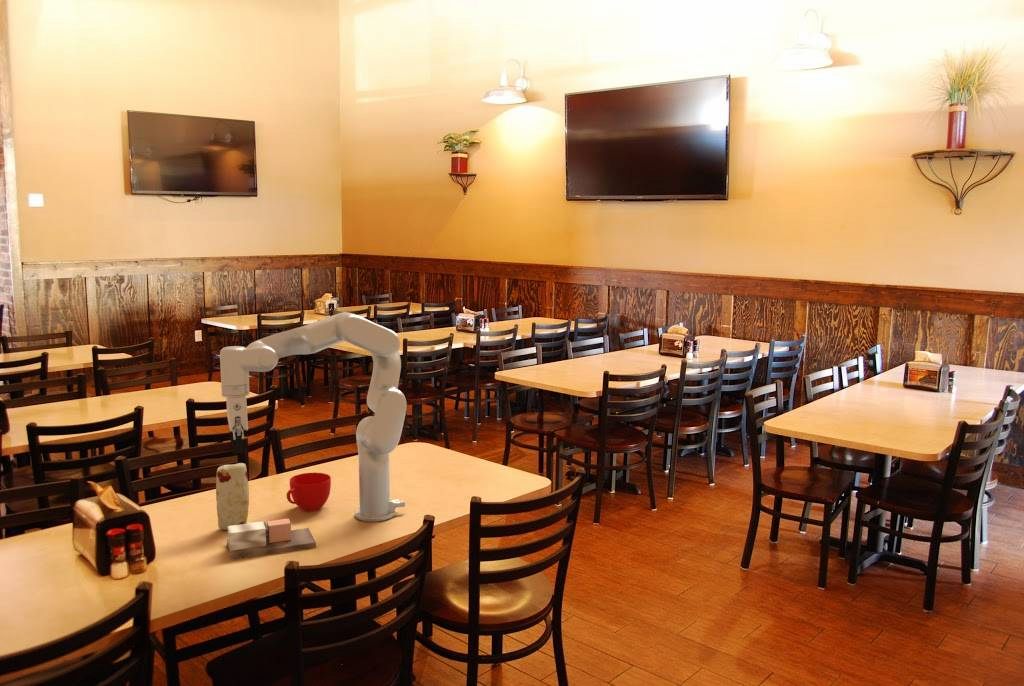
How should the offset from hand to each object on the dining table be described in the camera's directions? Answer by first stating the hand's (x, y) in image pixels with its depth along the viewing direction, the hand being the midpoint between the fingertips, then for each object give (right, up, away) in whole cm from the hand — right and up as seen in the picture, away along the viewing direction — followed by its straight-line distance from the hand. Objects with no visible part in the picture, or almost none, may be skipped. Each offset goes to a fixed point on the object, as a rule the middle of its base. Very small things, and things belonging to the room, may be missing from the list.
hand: (237, 448), depth 233 cm
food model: (-5, -26, +13) cm, 29 cm away
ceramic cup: (+13, -24, +28) cm, 39 cm away
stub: (+12, -26, 0) cm, 29 cm away
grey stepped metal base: (+9, -28, -2) cm, 29 cm away
